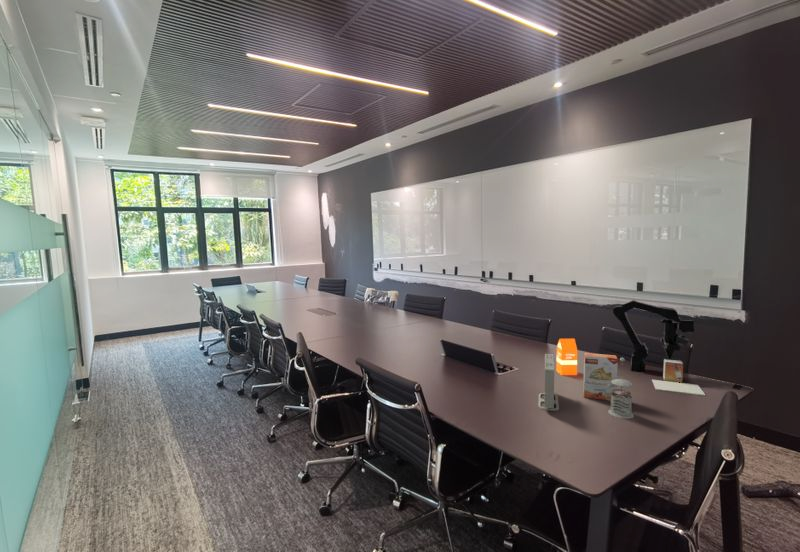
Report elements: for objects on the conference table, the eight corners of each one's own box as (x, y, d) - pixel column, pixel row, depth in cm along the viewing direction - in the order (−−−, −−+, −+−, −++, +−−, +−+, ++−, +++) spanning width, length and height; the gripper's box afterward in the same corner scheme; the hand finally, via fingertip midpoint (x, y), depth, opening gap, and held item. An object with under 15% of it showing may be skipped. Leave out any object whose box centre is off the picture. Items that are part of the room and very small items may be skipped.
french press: (633, 420, 164) (635, 362, 162) (602, 414, 170) (603, 358, 168) (634, 411, 172) (635, 356, 170) (604, 406, 178) (605, 352, 176)
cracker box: (583, 397, 188) (584, 355, 186) (583, 393, 194) (583, 352, 192) (616, 401, 183) (617, 358, 181) (614, 396, 188) (616, 354, 187)
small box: (664, 380, 208) (664, 361, 207) (662, 377, 213) (663, 358, 212) (682, 383, 204) (683, 363, 204) (680, 379, 209) (681, 360, 208)
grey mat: (656, 389, 196) (656, 388, 196) (651, 380, 209) (651, 379, 209) (705, 395, 187) (705, 394, 187) (697, 385, 200) (697, 384, 200)
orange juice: (577, 375, 220) (577, 340, 218) (561, 375, 220) (561, 340, 218) (571, 370, 228) (571, 336, 226) (556, 370, 228) (556, 337, 226)
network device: (559, 414, 171) (559, 370, 169) (538, 411, 174) (538, 368, 172) (557, 393, 195) (557, 353, 193) (538, 391, 198) (539, 352, 196)
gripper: (692, 336, 204) (691, 365, 205) (684, 328, 221) (683, 355, 222) (667, 334, 209) (666, 362, 210) (660, 327, 225) (659, 353, 227)
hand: (669, 358), depth 217 cm, fingers closed
